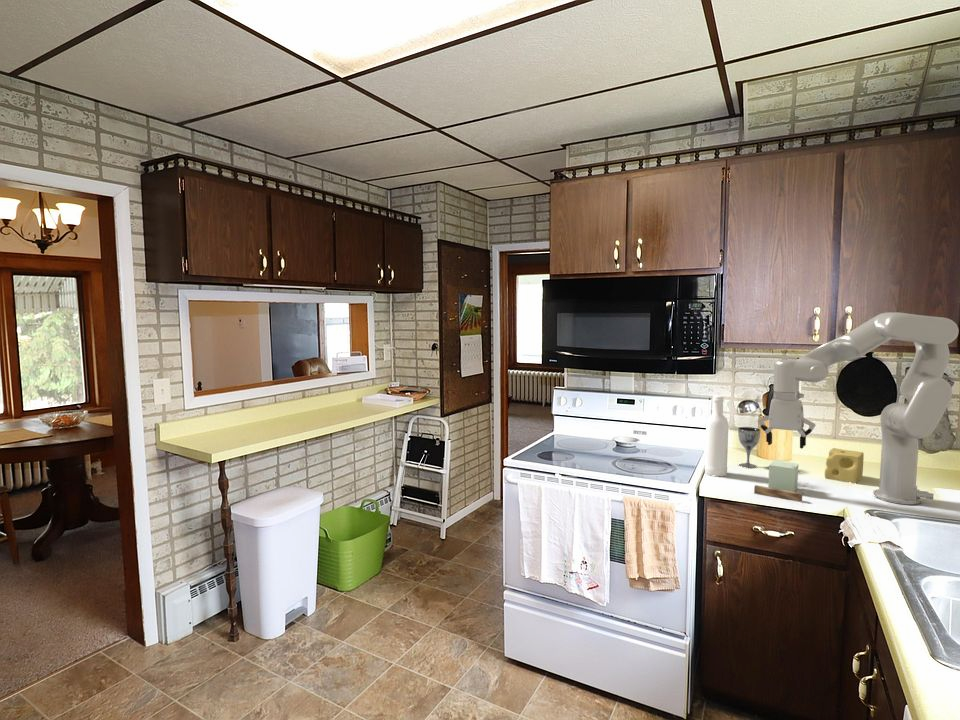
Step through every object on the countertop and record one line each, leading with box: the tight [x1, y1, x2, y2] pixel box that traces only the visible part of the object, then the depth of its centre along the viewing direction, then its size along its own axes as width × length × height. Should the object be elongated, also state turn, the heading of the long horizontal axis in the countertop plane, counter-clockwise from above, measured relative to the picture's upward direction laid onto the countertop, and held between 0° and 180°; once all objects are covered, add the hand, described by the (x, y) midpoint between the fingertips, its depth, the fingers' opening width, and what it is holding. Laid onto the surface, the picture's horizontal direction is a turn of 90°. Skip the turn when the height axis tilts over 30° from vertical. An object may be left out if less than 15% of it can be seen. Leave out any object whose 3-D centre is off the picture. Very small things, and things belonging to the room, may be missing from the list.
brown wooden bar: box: [753, 484, 803, 503], centre depth 184 cm, size 14×2×2 cm, turn 51°
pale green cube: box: [767, 460, 799, 492], centre depth 191 cm, size 8×8×9 cm
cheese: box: [824, 447, 865, 484], centre depth 203 cm, size 10×11×10 cm
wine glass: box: [737, 426, 761, 469], centre depth 220 cm, size 8×8×15 cm
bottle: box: [704, 394, 729, 477], centre depth 209 cm, size 8×8×30 cm
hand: (785, 445), depth 188 cm, fingers open, 9 cm apart
